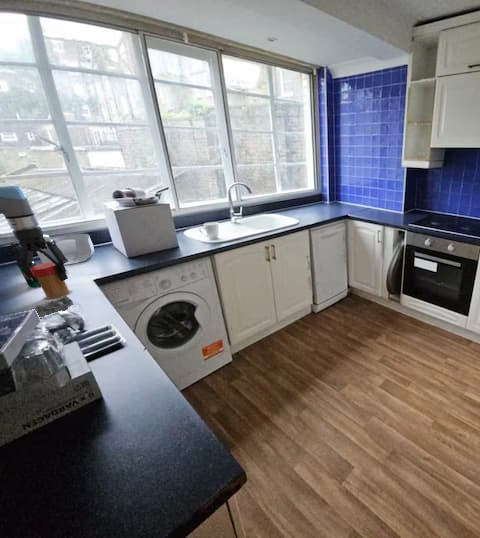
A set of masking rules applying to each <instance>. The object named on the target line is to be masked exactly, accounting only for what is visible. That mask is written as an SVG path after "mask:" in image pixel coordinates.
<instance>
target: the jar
mask: <svg viewBox="0 0 480 538" xmlns="http://www.w3.org/2000/svg"><path fill="white" fill-rule="evenodd" d="M37 279H38V281H39V283H40V285H41V286H40V287H41V289H42V291H43V293H44V295H45V297H46V299H48V300H54V299H55V300H56V299H60V298H62V297H64V296H68V295H69V294H70V293H71V292H70V290H69V288H68V286H67V283H66V280H64V281H61V280H60V278H59V276H58V274H57V273H55V274H51V275H47V276H41V277H37Z"/></svg>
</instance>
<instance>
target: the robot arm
mask: <svg viewBox="0 0 480 538" xmlns="http://www.w3.org/2000/svg"><path fill="white" fill-rule="evenodd" d="M0 215H3V216H4V218H5V219H6V222H7V224H8V226H9V228H10V230H11V229H12V234H13V236H14V237H15V240H17V241H15V242H13V243H10V246H11V248H12V249H13V253H14V257H15V262H16V266H17V268H19V267H24V268H25V269H26V270H27V272H28V274H29V275H31V277H32V279H33V281H34V283H38V282H39V281H38V279H37V277H34V276H33V275H32V273H31V271H30V268H31V267H33V265H34V264H32V263H33V261H34V253H35V252H37V251H39V252H40V253H43V254H44V255H45V256H46V257H47V258H48V259H49V260H51V261H52V262H53V263H54V264H55V265H56V266H55V269H56V271H57V274H58V276H59V278H60V280H61V281H67V280H68V279H69V277H68V275H67V269H66V266H65V265H64V263H66V262H68V260H67V259H66V257H65V256H64V255H63V253H62V252H61V251H60V249H59V248H58V247H57V245H56V242H55V240H45V239H44V238H43V235H44V234H45V233H44V232H43V230H42V228H41V226H39V225H40V223H39V221H38V219H37V217H36V215H35V213H34V211H33V209H32V206H31V205H30V202H29V200H28V196H26V193H25V192H24V190H23V189H22V187H21V186H19V185H2V186H0ZM46 244H47V245H46ZM44 248H45V249H44ZM21 262H22V263H21Z"/></svg>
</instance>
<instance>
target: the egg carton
mask: <svg viewBox="0 0 480 538" xmlns="http://www.w3.org/2000/svg"><path fill="white" fill-rule="evenodd" d="M71 305H74V301H73V300H72V299H71V298H70V297H68V295H65V296H63V297H60V298H55V300H54V299H51V300H50V301H47V302H45V303H41V304H36V305H34V306H33V307H32V308H31V309H30V311H32V309H35V310H36V311H37V313H38V315H39V317H44V316H45V315H49V314H51V313H54V312H58V311H61V310H65V311H67V310H66V309H68V307H70V306H71Z"/></svg>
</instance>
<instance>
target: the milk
mask: <svg viewBox="0 0 480 538" xmlns="http://www.w3.org/2000/svg"><path fill="white" fill-rule="evenodd" d="M43 234H44V235H43V238H44V239H45V240H50V239H51V238H50V235H49V234H45V233H43ZM46 245H47V244H46ZM44 249H45V248H44ZM36 253H37V256H38V258H39V260H40V262H41V264H44V263H50V262H52V261H51V260H49V259H48V258H47V257H46V256H45V255H44V254H43V253H40V252H39V251H36Z"/></svg>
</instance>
